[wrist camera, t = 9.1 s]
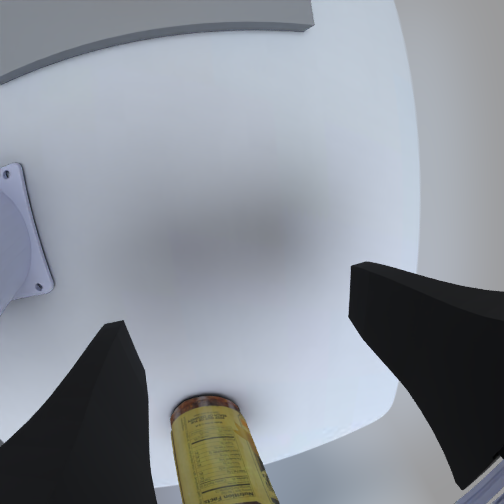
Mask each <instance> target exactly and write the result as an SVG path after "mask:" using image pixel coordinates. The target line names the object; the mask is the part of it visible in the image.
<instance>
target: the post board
mask: <svg viewBox="0 0 504 504" xmlns="http://www.w3.org/2000/svg"><path fill="white" fill-rule="evenodd" d="M312 26H314V19H313V12H312V6H311V0H0V85H2V84H4V83H6V82H8V81H10V80H12V79H15V78H17V77H19V76H22V75H24V74H26V73H29V72H31V71H34V70H37V69H39V68H42V67H44V66H47V65H50V64H53V63H56V62H59V61H62V60H65V59H68V58H71V57H74V56H77V55H81V54H84V53H88V52H91V51H95V50H99V49H103V48H107V47H111V46H115V45H119V44H124V43H129V42H134V41H139V40H144V39H150V38H156V37H163V36H170V35H178V34H187V33H197V32H209V31H226V30H282V31H299V32H304V31H305V30H307V29H309V28H310V27H312Z"/></svg>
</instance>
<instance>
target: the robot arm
mask: <svg viewBox="0 0 504 504" xmlns="http://www.w3.org/2000/svg"><path fill="white" fill-rule="evenodd" d="M7 170H8V171H9V173H10V176H9V178H7V177H6V171H7ZM37 283H39V284H41V285H42V288H40V287H38V285H37ZM53 287H54V283H53V280H52V277H51V274H50V271H49V268H48V266H47V263H46V260H45V257H44V254H43V250H42V247H41V244H40V241H39V237H38V234H37V231H36V227H35V223H34V220H33V216H32V212H31V208H30V204H29V200H28V195H27V191H26V186H25V181H24V176H23V171H22V167H21V165H20V164H19V163H12V164H9V165H7V166H4V167H1V168H0V315H1V314H2V312H3V311H4V309H5V308H6V306H7V305H8V304H9V302H10V301H11V300H16V299H20V298H25V297H30V296H35V295H40V294H45V293H49V292H51V290H52V289H53ZM348 317H349V319H350V320H351V322H352V323H353V325H354V327H355V328H356V330H357V331H358V333H359V334H360V336H361V337H362V339H363V340H364V341H365V342H366V343H367V345H368V346H369V347H370V348H371V349H372V350H373V351H374V353H375V354H376V355H377V356H378V357H379V358H380V359H381V360H382V361H383V363H384V364H385V365H386V366H387V367H388V368H389V369H390V370H391V372H392V373H393V374H394V375H395V376H396V377H397V378H398V379H399V381H401V383H402V384H403V385H404V387H405V388H406V389H407V390H408V392H409V393H410V395H411V396H412V398H413V399H414V401H415V402H416V404H417V405H418V407H419V408H420V410H421V411H422V413H423V415H424V417H425V418H426V420H427V422H428V423H429V425H430V427H431V428H432V430H433V432H434V434H435V436H436V438H437V440H438V442H439V444H440V446H441V448H442V450H443V452H444V454H445V456H446V459H447V461H448V464H449V466H450V468H451V471H452V473H453V476H454V479H455V482H456V484H457V485H458V486H459V487H460V489H461V490H464V489H465V488H466V487H468V486H469V485H470V484H471V483H472V482H474V481H475V480H476V479H477V478H478V477H479V476H480V475H482V474H483V473H484V472H485V471H486V470H487V469H488V468H489V467H490V466H491V465H492V464H493V463H494V462H495V461H496V460H497V459H498V458H499V457H500V456H501V457H502V458H503V460H502V462H500V463H499V464H498V465H497V466H496V467H495V468H494V469H493V470H492V471H491V472H490V473H489V474H488V475H487V476H486V477H485V478H484V479H483V480H481V481H480V482H479V483H478V484H477V485H476V486H475V487H474V488H472V489H471V490H470V491H469V492H468V493H466V494H465V495H464V496H463V497H462V498H460V499H459V500H458V501H456V502H455V503H454V504H486V503H487V502H488V501H489V500H490V499H491V498H492V497H493V496H494V495H495V494H497V493H498V492H499V491H500V489H502V488H503V486H504V292H500V291H489V290H483V289H477V288H471V287H465V286H460V285H456V284H452V283H447V282H443V281H439V280H436V279H432V278H428V277H425V276H421V275H418V274H414V273H411V272H407V271H404V270H400V269H397V268H393V267H390V266H386V265H382V264H378V263H373V262H363V263H359V264H355V265H352V266H351V280H350V300H349V316H348ZM0 504H157V501H156V496H155V491H154V486H153V481H152V476H151V468H150V454H149V411H148V392H147V383H146V375H145V370H144V367H143V365H142V363H141V361H140V359H139V356H138V354H137V352H136V349H135V347H134V345H133V342H132V340H131V337H130V335H129V333H128V330H127V328H126V325H125V323H124V320H122V321H117V322H112V323H107V324H105V325H104V326H103V327H102V328H101V329H100V330H99V332H98V333H97V334H96V336H95V337H94V339H93V340H92V341H91V343H90V344H89V345H88V347H87V348H86V350H85V351H84V352H83V354H82V355H81V357H80V358H79V359H78V361H77V362H76V364H75V365H74V366H73V368H72V369H71V370H70V372H69V373H68V374H67V375H66V377H65V378H64V379H63V381H62V382H61V383H60V385H59V386H58V387H57V388H56V390H55V391H54V392H53V394H52V395H51V396H50V397H49V398H48V400H47V401H46V402H45V403H44V404H43V405H42V407H41V408H40V409H39V410H38V411H37V412H36V413H35V414H34V415H33V416H32V417H31V418H30V420H29V421H28V422H27V423H26V424H24V425H23V426H22V427H21V428H20V429H19V430H18V431H17V432H16V433H15V434H14V435H13V436H12V437H11V438H10V439H9V440H8V441H6V442H5V443H4V444H3V445H2V446H1V447H0ZM491 504H504V493H503V494H502V495H501V496H500V497H498V498H497V499H496V500H495V501H494V502H492V503H491Z"/></svg>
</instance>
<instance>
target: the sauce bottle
mask: <svg viewBox="0 0 504 504" xmlns="http://www.w3.org/2000/svg"><path fill="white" fill-rule="evenodd" d="M170 421H171V428H172V431H171V440H172V447H173V453H174V460H175V465H176V471H177V477H178V482H179V487H180V492H181V497H182V502H183V504H279V501H278V499H277V497H276V495H275V492H274V490H273V488H272V485H271V483H270V481H269V478H268V476H267V474H266V472H265V468H264V466H263V463H262V461H261V459H260V456H259V454H258V451H257V449H256V446H255V444H254V441H253V439H252V436H251V434H250V431H249V428H248V426H247V423H246V421H245V419H244V417H243V416H242V414H241V413H240V410H239V408H238V406H237V405H235V404H234V403H233V402H232V401H231V400H226V399H225V398H222V397H219V396H200V397H194V398H191V399H188V400H185V401H184V402H183V403H182V404H180V405H179V406H178V407H177V408H176V409H175V411H174V412H173V414H172V416H171V419H170Z"/></svg>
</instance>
